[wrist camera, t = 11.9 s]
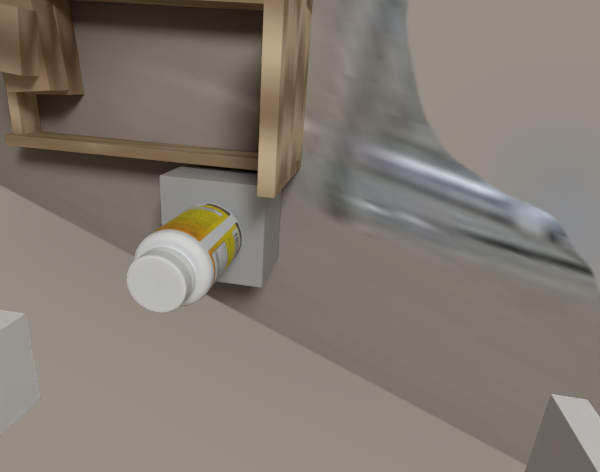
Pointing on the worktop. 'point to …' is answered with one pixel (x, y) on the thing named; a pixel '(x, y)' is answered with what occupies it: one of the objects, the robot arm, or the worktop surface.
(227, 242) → the supplement bottle
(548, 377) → the worktop surface
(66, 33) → the offcut slab low
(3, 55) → the offcut block
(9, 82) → the offcut slab top
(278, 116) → the light wood open box
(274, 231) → the stone plinth
